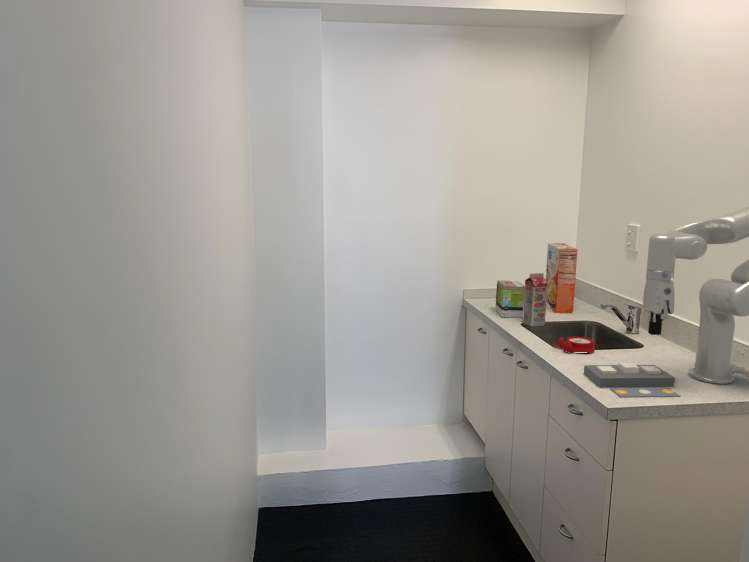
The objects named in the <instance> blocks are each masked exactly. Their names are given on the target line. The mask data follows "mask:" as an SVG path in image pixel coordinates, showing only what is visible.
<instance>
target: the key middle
mask: <svg viewBox="0 0 749 562" xmlns="http://www.w3.org/2000/svg"><path fill="white" fill-rule="evenodd" d="M618 365H619V366H618V370H619V371H621V372H622V373H624V374H639V367H638V366H637V365H638V364H636V363H633V362H618Z"/></svg>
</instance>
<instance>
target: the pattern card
mask: <svg viewBox="0 0 749 562" xmlns="http://www.w3.org/2000/svg"><path fill="white" fill-rule="evenodd" d="M609 390H610V391H611V390H612V391H611V392H613V394H616V396H617V397H619V398H681V395H680V394H679V393H677V392H676V391H674V390H672V389H671V387H628V388H609Z"/></svg>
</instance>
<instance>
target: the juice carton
mask: <svg viewBox="0 0 749 562" xmlns="http://www.w3.org/2000/svg"><path fill="white" fill-rule="evenodd" d="M547 284H548V282H547V281H546V278H545V277H544V272H543V273H542V272H541V273H537V272H536V273H529V277H528V278H526V279H525V280H524V286H525V292H524V306H523V317H522V323H523V324H525V325H528V326H529V327H540V326H546V325H545V324H546V314H547V312H546V311H547V305H546V299H547Z"/></svg>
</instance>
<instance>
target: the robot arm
mask: <svg viewBox="0 0 749 562" xmlns="http://www.w3.org/2000/svg"><path fill="white" fill-rule="evenodd" d="M746 238H749V206H747V207H744V208H742V209H739V210H736V211H734V212H732V213H730V214H729V213H728V214H727V215H726V214H725V215H723V216H720V217H716V218H711V219H706V220H703V221H702V220H701V221H697V222H694V223H690V224H686V225H683V226H681V227H678V228H676V229H672V230H671V231H669V232H667V233H665V234H664V233H663V234H662V233H658V234H657V233H656V234H652V235H651V236H650V237H649V240H648V252H647V263H646V272H645V273H646V274H645V280H646V281H645V285H644V290H643V297H642V299H643V300H642V307H644V309H645V312H646V313H647V315H648V329H647V330H648V334H650V336H659V335H662V329H663V327H662V326H663V323H664V320H667V319H669V315H672V314H673V313H674V311H675V283H674V278H675V267H676V259H681V260H691V261H692V260H693V261H694V260H698V259H700V258H702V257H703V256H704V255H705V254H706V252H707V249H708V245H728V244H732V243H733V244H734V243H736V242H739V241H742V240H744V239H746ZM698 296H699V297H698V301H699V309H700V311H699V313H700V314H699V316H700V317H699V326H698V333H697V342H696V343H697V344H696V352H695V361H694V367H692V368H690V369H688V372H687V373H688V376H689V377H691V378H693V379H695V380H697V381H700V382H704V383H708V384H716V385H717V384H718V385H726V384H727V385H728V383H729V384H732V383H734V381H735V376H734V374H743V373H745V368H744V367H743V366H738V367H737V366H735V365H734V364H732V365H731V361H732V360H731V358H732V351H733V345H734V344H733V343H734V336H735V331H736V330H735V329H736V328H735V327H736V324H735V323H736V322H735V317H747V316H749V259H747V260H745V261H744V262H743V263H740V265H737V267H736V268H734V269H733V271H732V272H731V275H730V280H727V279H724V278H712V279H709V280H707V281H705V282H704V283H703V284H702V285H701V287H700V290H699V293H698Z"/></svg>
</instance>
